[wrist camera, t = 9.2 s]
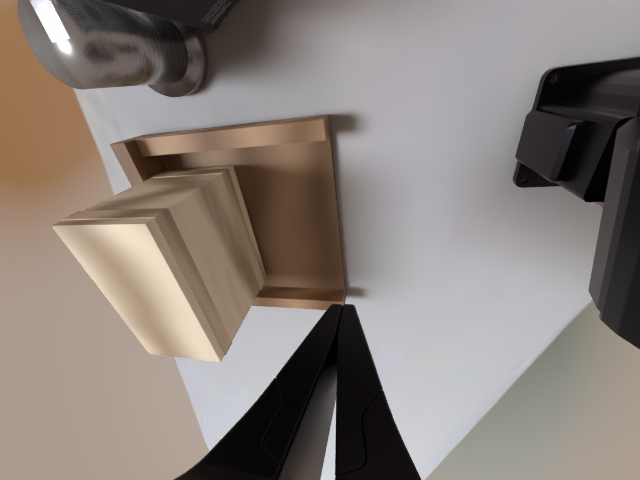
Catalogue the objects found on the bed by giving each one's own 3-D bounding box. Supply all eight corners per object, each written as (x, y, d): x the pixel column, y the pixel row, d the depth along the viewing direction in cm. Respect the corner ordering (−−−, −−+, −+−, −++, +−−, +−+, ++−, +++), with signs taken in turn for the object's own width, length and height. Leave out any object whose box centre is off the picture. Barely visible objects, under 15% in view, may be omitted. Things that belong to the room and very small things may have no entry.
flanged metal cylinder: (169, -81, 14) (-84, -261, 6) (218, 91, 18) (102, 106, 10) (91, -55, 15) (-201, -181, 7) (154, 100, 19) (8, 120, 11)
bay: (328, 114, 17) (320, 122, 15) (345, 295, 26) (342, 319, 23) (142, 135, 20) (109, 144, 18) (212, 289, 29) (197, 309, 27)
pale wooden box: (233, 165, 20) (145, 222, 12) (267, 277, 25) (221, 362, 18) (166, 170, 21) (49, 224, 14) (212, 275, 27) (149, 354, 19)
